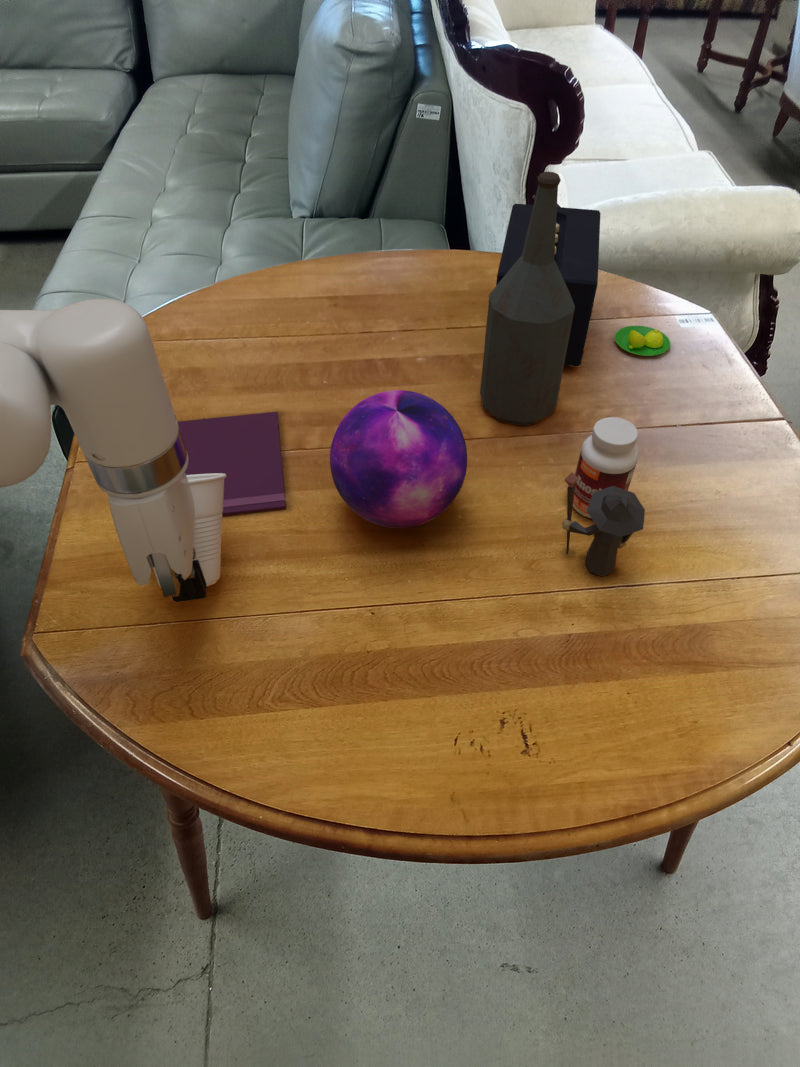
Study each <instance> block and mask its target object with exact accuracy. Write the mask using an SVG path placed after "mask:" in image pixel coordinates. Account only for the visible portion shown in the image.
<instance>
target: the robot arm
mask: <svg viewBox="0 0 800 1067" xmlns="http://www.w3.org/2000/svg"><path fill="white" fill-rule="evenodd" d="M148 327H149V326H148V325H147V323H146V321H145V319H144V317H143V316H142V314H141V313H140V312H139V311H138V310H137V309H135V308H134V307H133V306H131V304H128V303H127V302H123V301H120V300H117V299H112V298H89V299H84V300H79V301H75V302H73V303H69V304H68V305H65V306H63V307H61V308H58V309H57V308H54V309H0V489H2V488H6V487H10V486H14V485H18V484H20V483H22V482H24V481H26V480H28V479H29V478H30V477H31V476H33V475H34V474H35V473H37V472H38V470H40V468H41V467H42V466H43V464H44V462H45V460H46V459H47V457H48V455H49V451H50V448H51V442H52V411H51V410H52V409H51V406H53V405H54V406H55V405H56V406H58V407H60V408H61V409H62V410H63V411H64V413H65V416H66V418H67V420H68V422H69V424H70V427H71V429H72V431H73V433H74V436H75V438H76V440H77V442H78V445H79V446H80V449H81V451H82V453H83V456H84V458H85V460H86V463H87V465H88V467H89V469H90V471H91V473H92V475H93V479H94V481H95V482H96V485H97V486H98V488H99V489H100V490H101V491H102V492H104V493H105V494H107V499H108V504H109V509H110V513H111V517H112V521H113V525H114V529H115V531H116V535H117V537H118V541H119V544H120V546H121V549H122V551H123V554H124V557H125V560H126V562H127V565H128V568H129V570H130V573H131V575H132V577H133V580H134V581H135V582H136V584H137V585H139V586H148V585H150V581H151V576H152V570H153V567H155V569H156V573H157V576H158V579H159V583H160V586H161V587H160V586H159V587H160V589H161V592H162V596H163V598H164V599H168V598H171V600H172V601H173V602H175V603H180V602H191V601H196V600H203V599H205V598H207V591H206V590H207V586H206V585H207V584H206V581H205V578H204V575H203V572H202V569H201V566H200V564H199V561H198V560H193V559H195V558H196V553H195V548H194V526H195V507H194V500H193V496H192V492H191V488H190V485H189V482H188V479H187V476H186V473H185V471H186V469H187V466H188V461H189V457H188V454H187V450H186V447H185V444H184V441H183V437H182V434H181V431H180V428H179V425H178V422H179V421H178V419H177V415H176V412H175V410H174V409H175V408H174V407H173V403H172V400H171V397H170V394H169V389H168V386H167V383H166V380H165V377H164V374H163V371H162V368H161V365H160V361H159V358H158V355H157V352H156V349H155V346H154V343H153V339H152V336H151V332H150V330H149V328H148Z"/></svg>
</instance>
